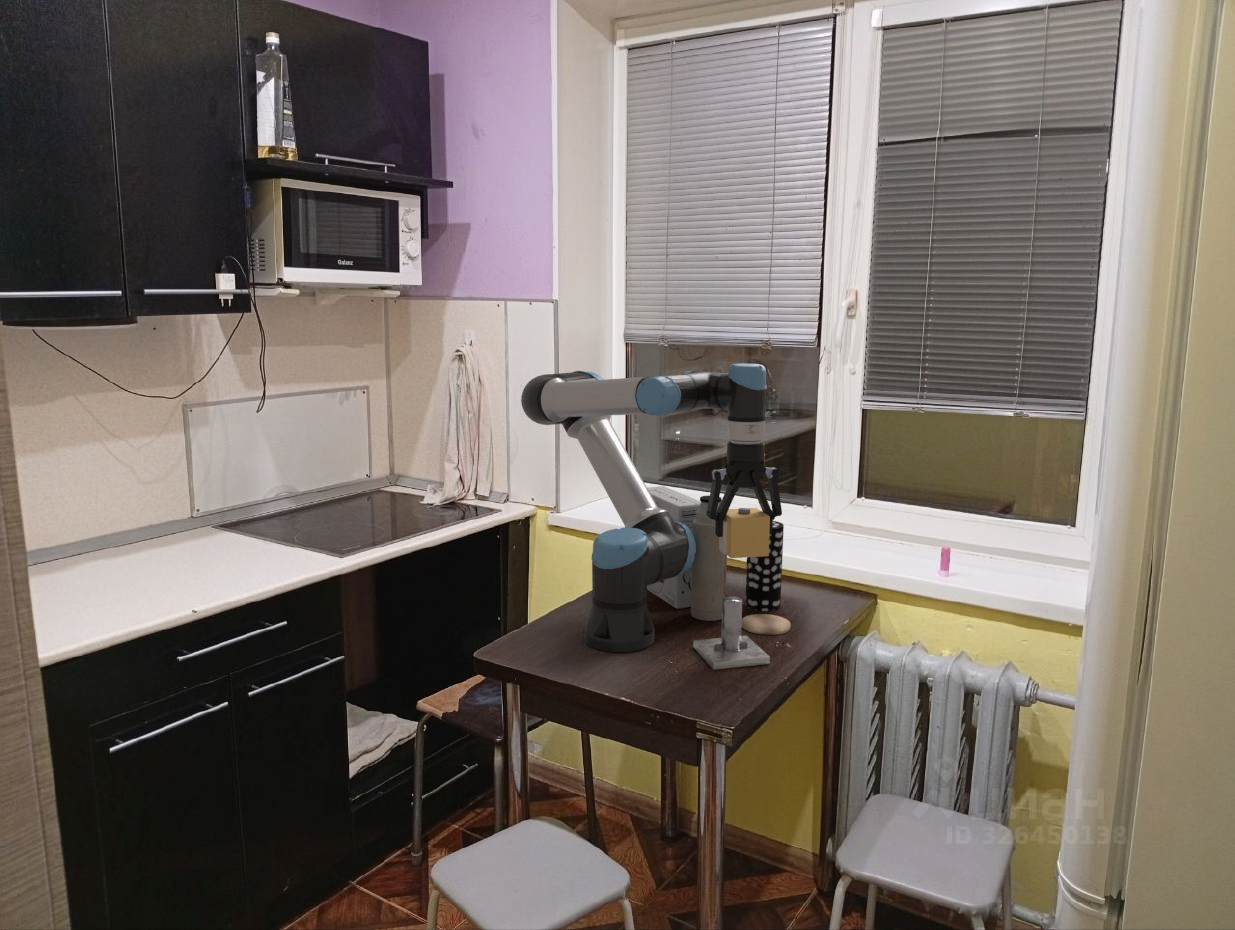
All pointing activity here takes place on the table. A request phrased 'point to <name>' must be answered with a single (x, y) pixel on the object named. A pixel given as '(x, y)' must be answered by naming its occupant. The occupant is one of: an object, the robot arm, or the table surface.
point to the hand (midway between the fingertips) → (743, 550)
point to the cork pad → (765, 624)
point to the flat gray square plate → (731, 641)
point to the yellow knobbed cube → (747, 533)
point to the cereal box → (684, 513)
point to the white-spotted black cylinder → (766, 574)
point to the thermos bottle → (707, 567)
